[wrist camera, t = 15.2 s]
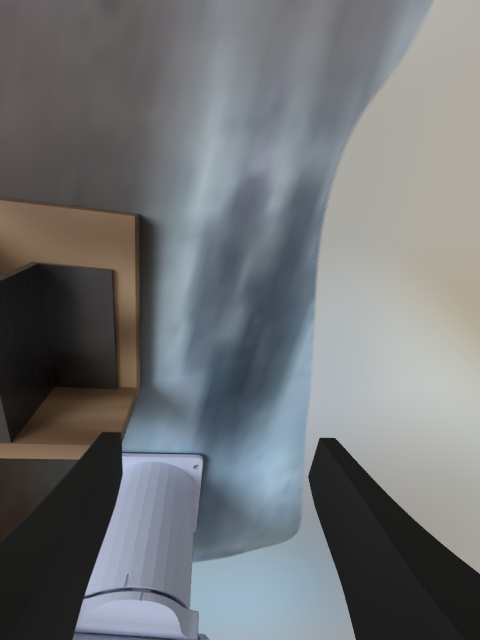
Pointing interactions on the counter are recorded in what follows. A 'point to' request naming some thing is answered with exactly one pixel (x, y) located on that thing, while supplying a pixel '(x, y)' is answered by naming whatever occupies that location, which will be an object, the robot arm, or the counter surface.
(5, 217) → the shelf
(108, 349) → the bookend
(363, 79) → the counter surface
